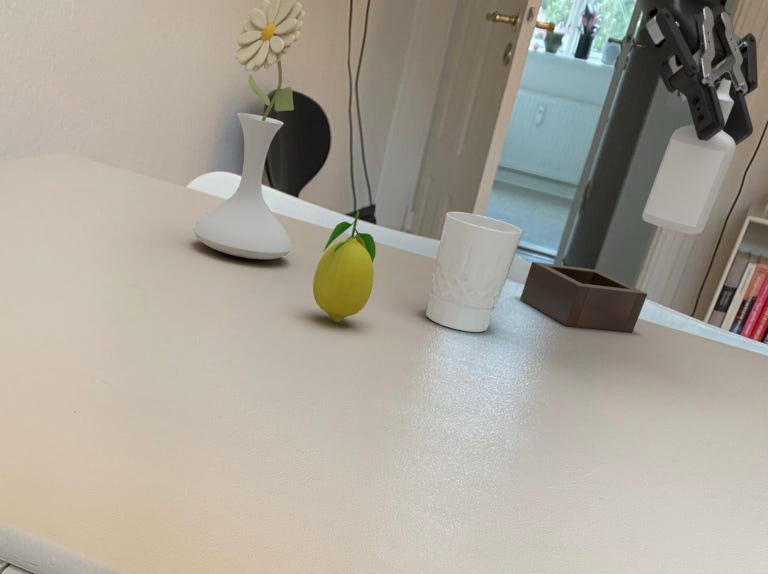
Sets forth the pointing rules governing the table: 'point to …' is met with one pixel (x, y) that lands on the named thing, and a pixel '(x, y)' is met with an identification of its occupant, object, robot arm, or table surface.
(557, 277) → the holder
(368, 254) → the lemon
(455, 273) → the white cup
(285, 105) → the flower in vase
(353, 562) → the table surface
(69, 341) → the table surface
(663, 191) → the eye dropper bottle
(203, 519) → the table surface
